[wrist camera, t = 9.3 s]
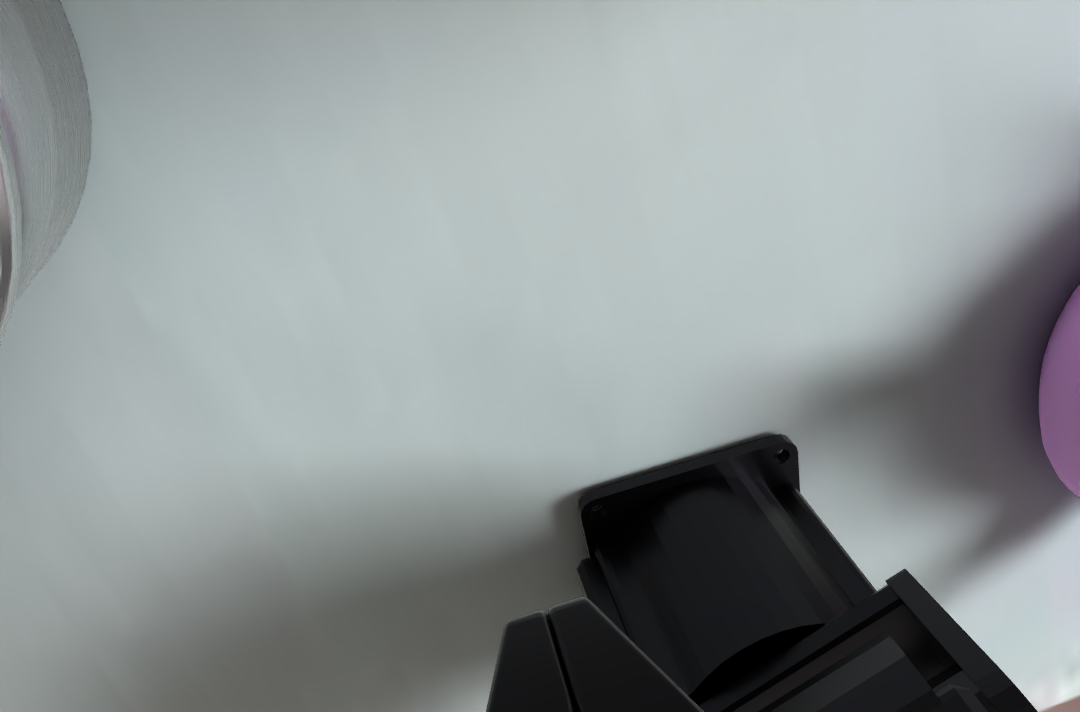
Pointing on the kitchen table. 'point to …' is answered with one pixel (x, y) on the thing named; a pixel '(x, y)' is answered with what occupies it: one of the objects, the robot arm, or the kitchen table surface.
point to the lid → (0, 266)
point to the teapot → (1062, 395)
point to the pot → (38, 140)
